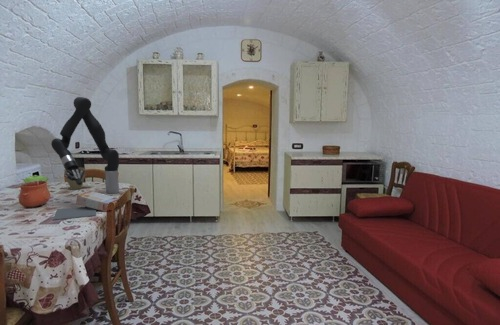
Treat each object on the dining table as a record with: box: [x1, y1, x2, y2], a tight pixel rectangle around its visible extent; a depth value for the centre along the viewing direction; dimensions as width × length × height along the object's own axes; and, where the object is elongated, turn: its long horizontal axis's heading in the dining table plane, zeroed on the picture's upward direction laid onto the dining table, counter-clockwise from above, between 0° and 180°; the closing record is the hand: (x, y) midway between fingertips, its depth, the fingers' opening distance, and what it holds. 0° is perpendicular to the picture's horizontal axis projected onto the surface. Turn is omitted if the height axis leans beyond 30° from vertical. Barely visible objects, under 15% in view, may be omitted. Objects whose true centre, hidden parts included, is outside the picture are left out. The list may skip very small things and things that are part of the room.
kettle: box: [21, 174, 50, 184], centre depth 258 cm, size 15×14×11 cm
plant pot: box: [63, 167, 86, 190], centre depth 260 cm, size 15×15×16 cm
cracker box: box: [75, 191, 120, 213], centre depth 208 cm, size 14×6×21 cm
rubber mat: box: [52, 206, 97, 221], centre depth 197 cm, size 22×22×1 cm
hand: (80, 184), depth 208 cm, fingers closed
